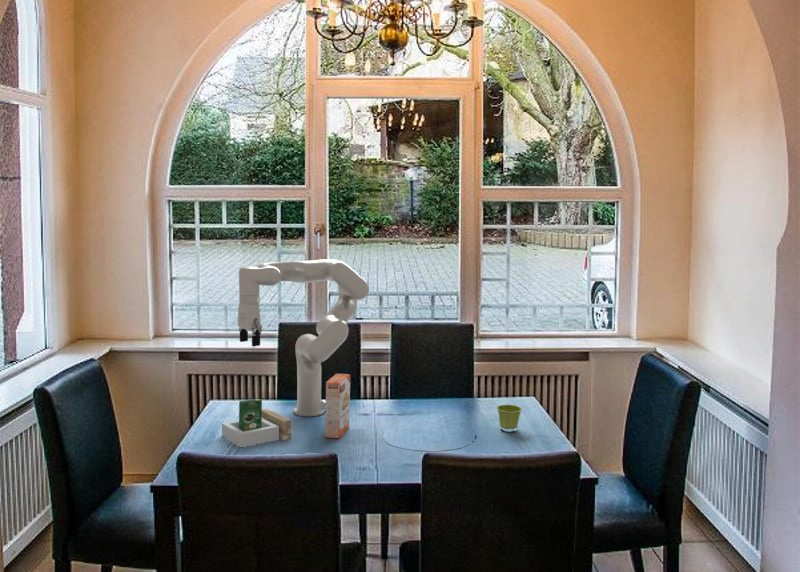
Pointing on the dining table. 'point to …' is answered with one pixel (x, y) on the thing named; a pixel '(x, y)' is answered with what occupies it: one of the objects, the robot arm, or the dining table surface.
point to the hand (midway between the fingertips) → (249, 343)
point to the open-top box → (250, 433)
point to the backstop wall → (278, 423)
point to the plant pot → (509, 416)
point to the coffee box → (250, 414)
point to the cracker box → (337, 405)
